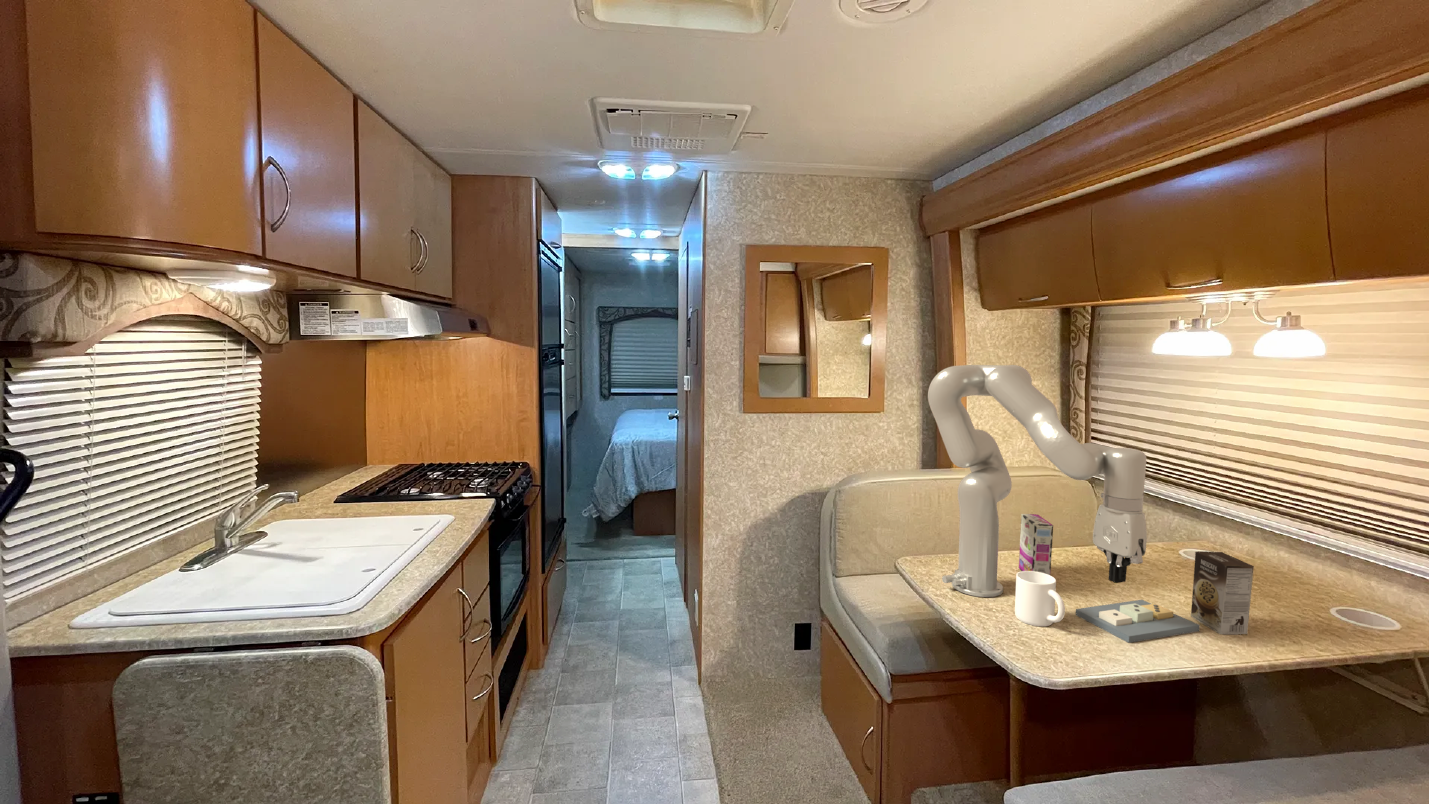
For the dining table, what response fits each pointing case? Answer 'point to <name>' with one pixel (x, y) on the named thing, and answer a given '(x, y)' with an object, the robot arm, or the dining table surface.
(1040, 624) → the mug
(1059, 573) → the dining table surface
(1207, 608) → the coffee box
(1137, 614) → the tile
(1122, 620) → the tile
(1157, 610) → the tile
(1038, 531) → the candy bar box
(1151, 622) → the board
